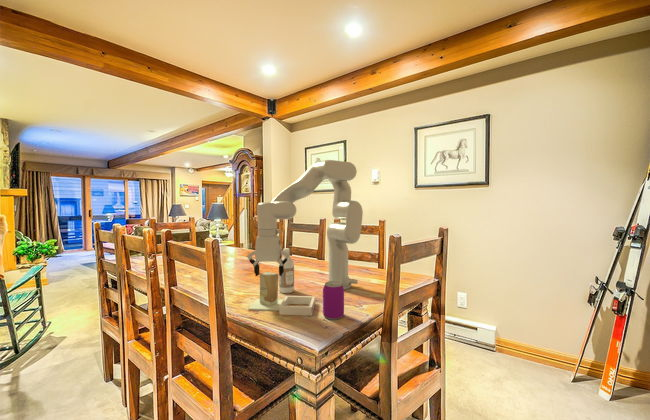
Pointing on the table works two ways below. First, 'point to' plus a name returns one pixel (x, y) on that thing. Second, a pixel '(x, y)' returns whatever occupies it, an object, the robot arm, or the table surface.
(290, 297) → the collar
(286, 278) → the bath foam
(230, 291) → the table surface
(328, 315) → the beverage can
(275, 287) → the skincare box
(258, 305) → the mat
